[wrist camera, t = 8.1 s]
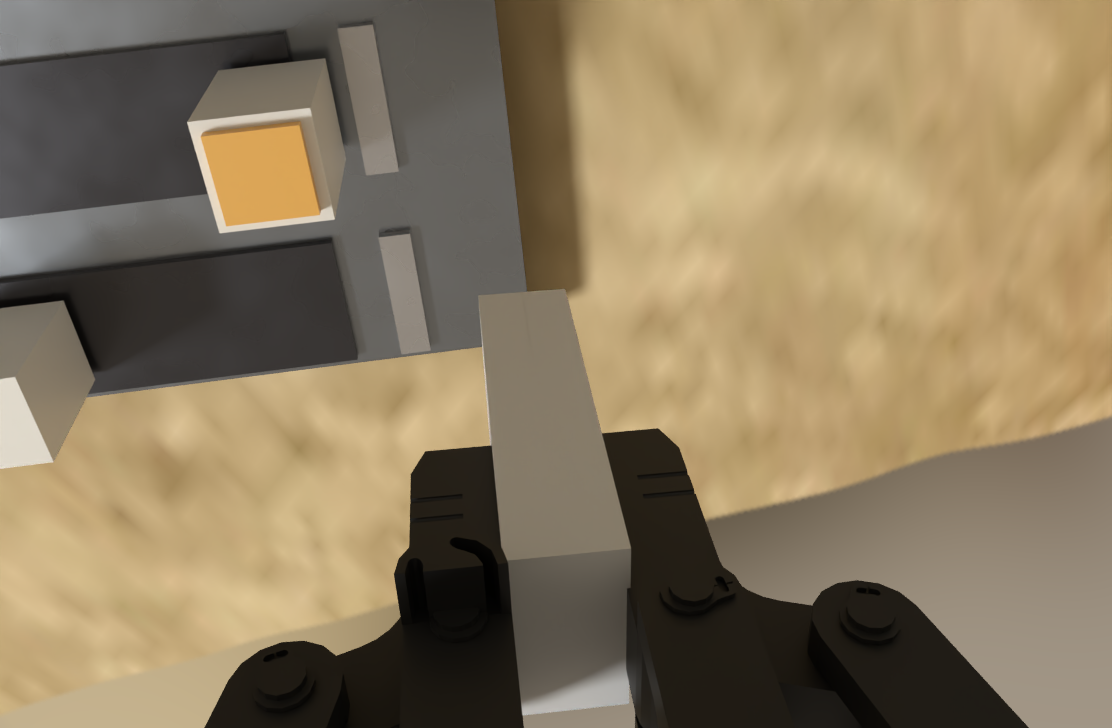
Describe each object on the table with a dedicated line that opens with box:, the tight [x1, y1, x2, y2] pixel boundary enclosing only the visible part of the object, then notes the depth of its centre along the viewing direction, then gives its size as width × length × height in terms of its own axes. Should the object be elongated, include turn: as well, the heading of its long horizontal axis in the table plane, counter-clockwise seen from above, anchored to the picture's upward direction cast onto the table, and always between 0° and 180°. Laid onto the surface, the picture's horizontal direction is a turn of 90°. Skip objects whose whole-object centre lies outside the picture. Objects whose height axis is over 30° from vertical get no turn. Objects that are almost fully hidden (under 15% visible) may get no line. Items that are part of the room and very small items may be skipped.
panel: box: [0, 0, 527, 397], centre depth 30 cm, size 18×24×2 cm
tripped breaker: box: [187, 58, 346, 233], centre depth 27 cm, size 3×3×5 cm
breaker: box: [0, 301, 95, 469], centre depth 30 cm, size 3×3×4 cm
